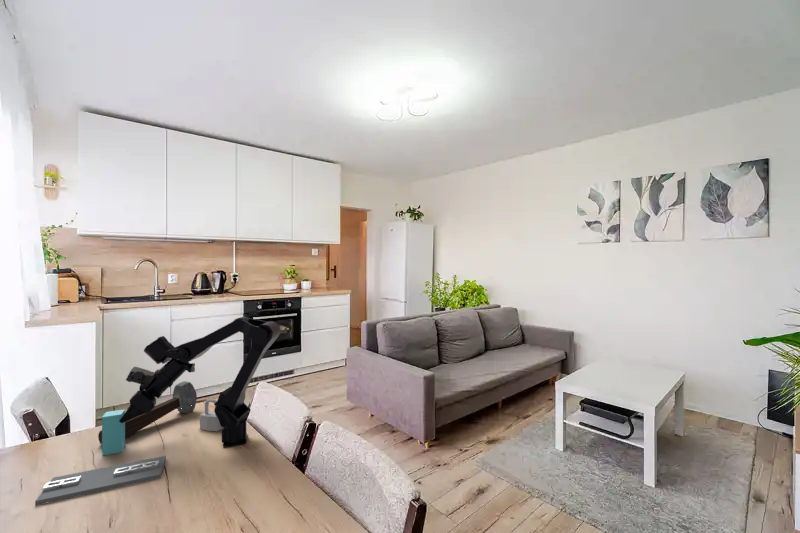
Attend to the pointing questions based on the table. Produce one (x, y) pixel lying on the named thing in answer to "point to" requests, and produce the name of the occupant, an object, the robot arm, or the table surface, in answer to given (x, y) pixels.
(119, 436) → the teal block
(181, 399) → the hammer
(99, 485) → the rubber mat
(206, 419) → the padlock
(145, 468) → the steel chain
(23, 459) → the table surface
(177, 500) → the table surface
